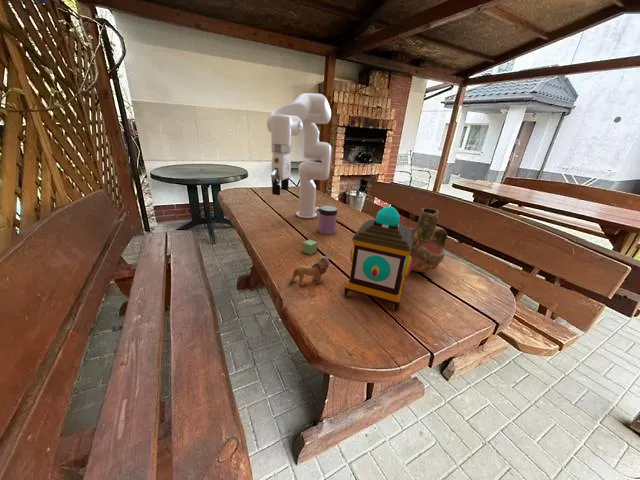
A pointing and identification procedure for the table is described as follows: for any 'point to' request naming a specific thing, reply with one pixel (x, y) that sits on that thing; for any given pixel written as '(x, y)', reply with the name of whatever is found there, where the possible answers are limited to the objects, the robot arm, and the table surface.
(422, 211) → the ceramic vessel
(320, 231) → the jar
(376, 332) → the table surface
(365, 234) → the decorative lantern
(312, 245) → the block
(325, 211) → the jar lid
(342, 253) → the table surface
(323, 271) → the lion figurine
